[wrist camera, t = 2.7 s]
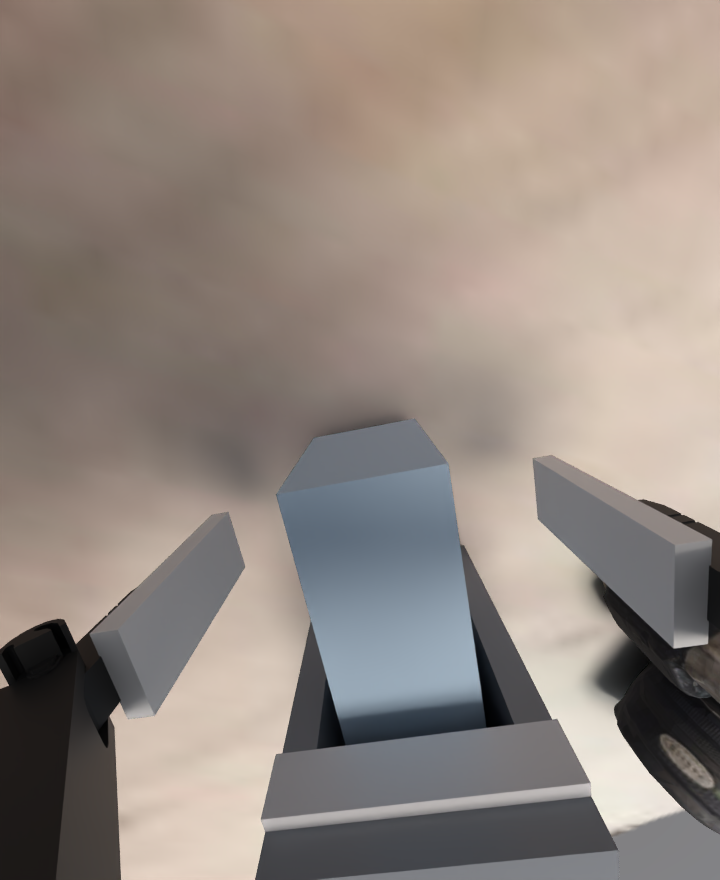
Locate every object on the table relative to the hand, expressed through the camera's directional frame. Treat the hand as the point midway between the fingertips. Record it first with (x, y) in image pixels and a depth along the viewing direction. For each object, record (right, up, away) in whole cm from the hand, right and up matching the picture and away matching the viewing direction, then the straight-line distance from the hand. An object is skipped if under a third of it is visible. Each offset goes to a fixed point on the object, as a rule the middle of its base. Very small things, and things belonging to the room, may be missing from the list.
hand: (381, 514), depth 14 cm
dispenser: (+2, -11, +8) cm, 14 cm away
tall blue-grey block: (+1, -5, +4) cm, 6 cm away
